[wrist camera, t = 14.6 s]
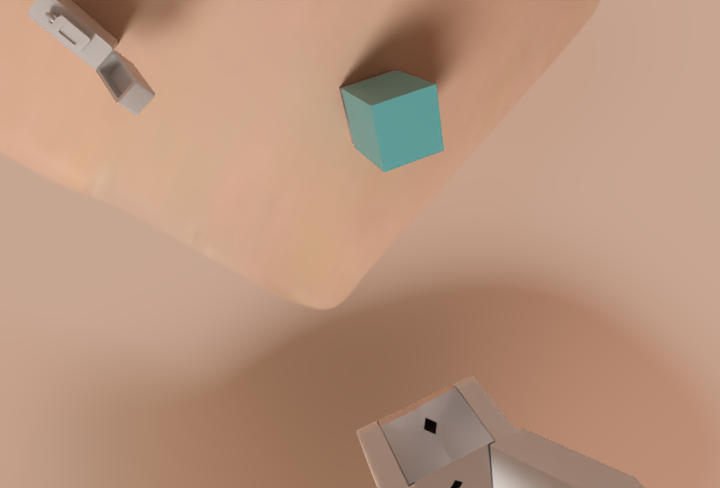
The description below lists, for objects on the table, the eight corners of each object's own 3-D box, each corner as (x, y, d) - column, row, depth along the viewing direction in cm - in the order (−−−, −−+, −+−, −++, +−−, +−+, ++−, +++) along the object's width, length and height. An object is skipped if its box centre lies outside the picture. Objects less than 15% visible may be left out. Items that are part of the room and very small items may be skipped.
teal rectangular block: (341, 88, 37) (370, 105, 32) (398, 70, 38) (436, 84, 33) (354, 147, 40) (384, 172, 34) (407, 128, 41) (443, 150, 35)
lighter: (42, 10, 29) (6, 17, 22) (59, -11, 29) (28, -9, 22) (142, 92, 33) (136, 118, 26) (157, 74, 33) (155, 96, 26)
